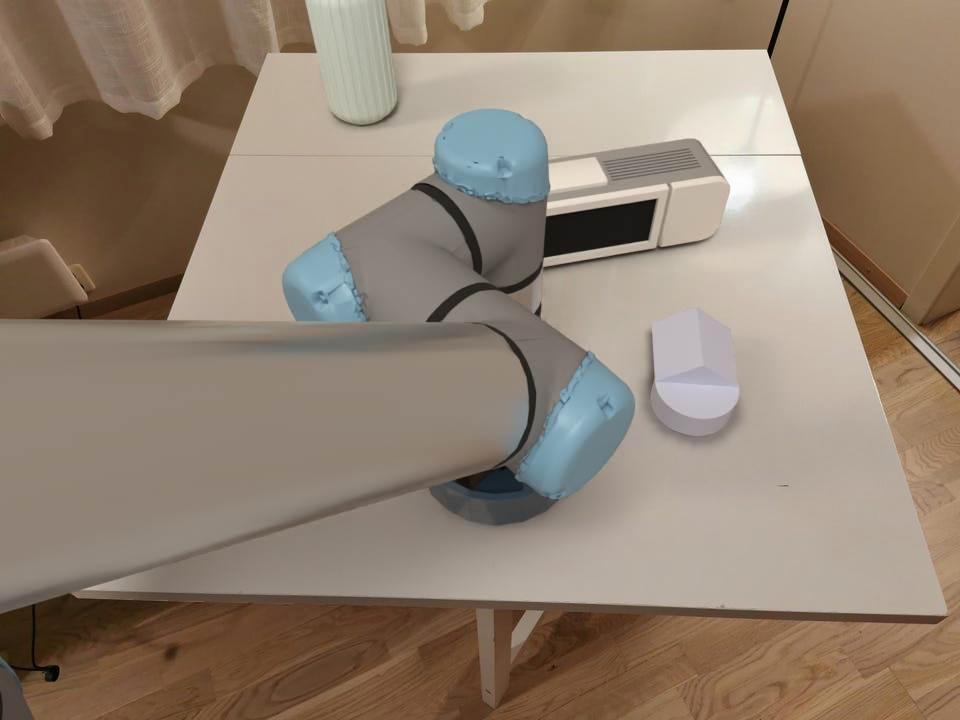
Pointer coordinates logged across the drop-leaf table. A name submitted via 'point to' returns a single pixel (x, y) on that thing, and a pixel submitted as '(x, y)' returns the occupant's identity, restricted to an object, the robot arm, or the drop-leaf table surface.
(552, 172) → the alarm clock
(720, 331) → the wedge on round base
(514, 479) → the bowl
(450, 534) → the drop-leaf table surface
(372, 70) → the vase
